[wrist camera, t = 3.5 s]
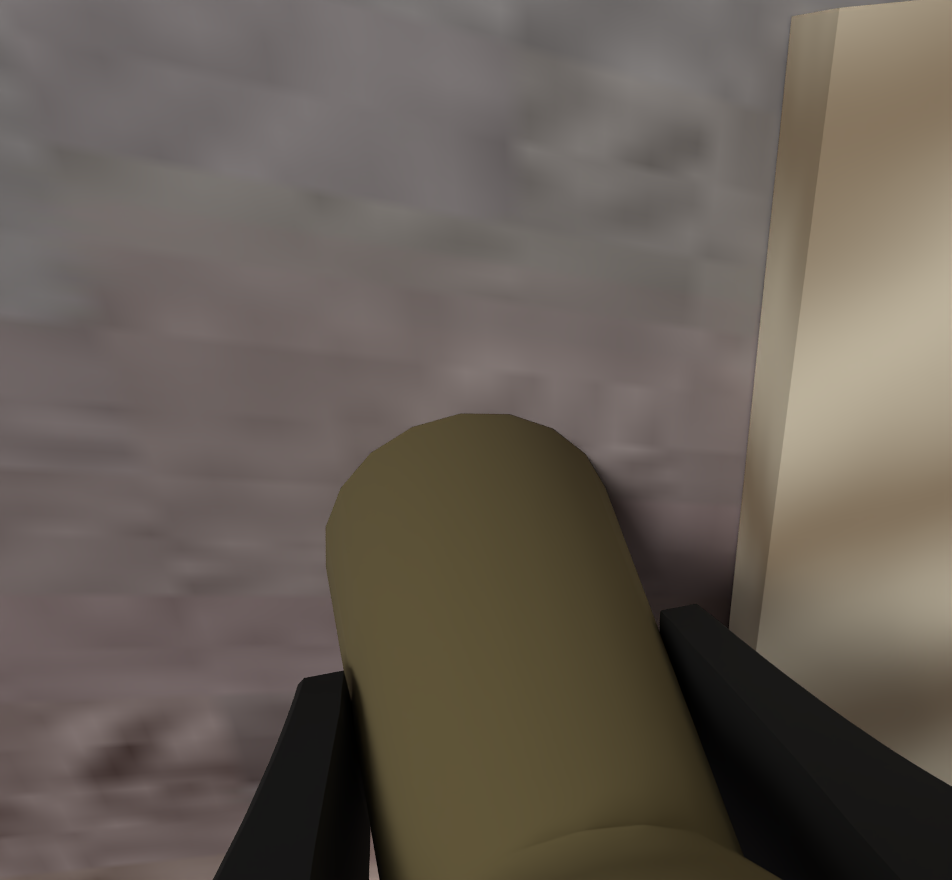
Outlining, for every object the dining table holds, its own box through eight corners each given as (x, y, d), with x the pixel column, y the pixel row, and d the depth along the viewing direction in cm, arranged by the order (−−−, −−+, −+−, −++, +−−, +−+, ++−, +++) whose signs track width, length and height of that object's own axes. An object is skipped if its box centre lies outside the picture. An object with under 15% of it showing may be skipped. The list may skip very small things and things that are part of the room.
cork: (348, 674, 15) (347, 1655, 6) (298, 434, 13) (133, 1547, 3) (607, 630, 16) (996, 1436, 6) (614, 393, 13) (1314, 1184, 4)
